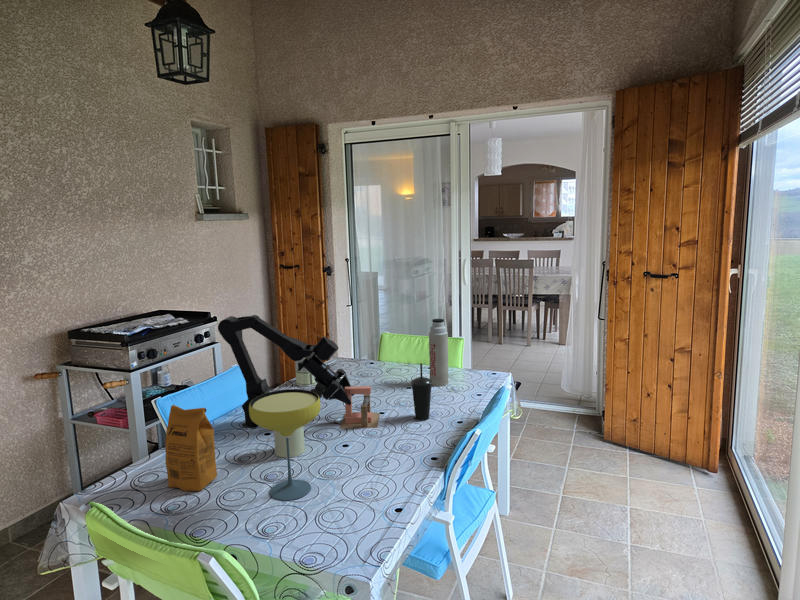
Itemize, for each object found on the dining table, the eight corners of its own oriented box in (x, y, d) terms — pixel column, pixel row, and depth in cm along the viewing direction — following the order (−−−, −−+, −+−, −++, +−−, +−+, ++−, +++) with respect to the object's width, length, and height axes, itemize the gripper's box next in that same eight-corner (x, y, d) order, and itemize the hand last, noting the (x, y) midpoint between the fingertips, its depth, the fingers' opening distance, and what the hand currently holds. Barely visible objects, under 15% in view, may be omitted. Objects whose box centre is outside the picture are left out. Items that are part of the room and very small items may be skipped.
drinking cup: (431, 422, 185) (430, 366, 182) (409, 421, 186) (408, 366, 183) (434, 414, 192) (433, 360, 189) (413, 413, 194) (412, 360, 190)
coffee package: (187, 471, 153) (180, 398, 150) (223, 477, 149) (216, 402, 146) (161, 488, 144) (153, 410, 141) (198, 495, 140) (190, 415, 137)
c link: (345, 423, 185) (343, 390, 183) (347, 417, 190) (345, 385, 188) (371, 422, 184) (370, 389, 183) (372, 417, 189) (371, 385, 188)
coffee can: (299, 379, 239) (298, 349, 237) (322, 379, 238) (320, 348, 236) (293, 386, 229) (291, 354, 227) (316, 386, 228) (314, 354, 226)
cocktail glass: (242, 491, 141) (235, 401, 137) (300, 467, 154) (294, 384, 150) (279, 517, 128) (272, 418, 125) (338, 489, 141) (334, 398, 137)
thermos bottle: (435, 387, 223) (434, 321, 218) (426, 382, 230) (425, 318, 225) (451, 384, 226) (450, 319, 222) (442, 379, 233) (441, 316, 229)
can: (275, 459, 159) (273, 421, 158) (274, 447, 168) (271, 411, 166) (306, 455, 162) (304, 417, 160) (303, 443, 171) (301, 407, 169)
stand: (339, 430, 180) (338, 407, 179) (344, 414, 194) (343, 393, 193) (377, 429, 180) (376, 406, 179) (380, 414, 194) (379, 393, 193)
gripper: (308, 377, 195) (340, 406, 196) (297, 394, 176) (332, 425, 178) (329, 356, 193) (360, 385, 195) (320, 371, 175) (355, 402, 176)
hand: (352, 399), depth 186 cm, fingers open, 9 cm apart
